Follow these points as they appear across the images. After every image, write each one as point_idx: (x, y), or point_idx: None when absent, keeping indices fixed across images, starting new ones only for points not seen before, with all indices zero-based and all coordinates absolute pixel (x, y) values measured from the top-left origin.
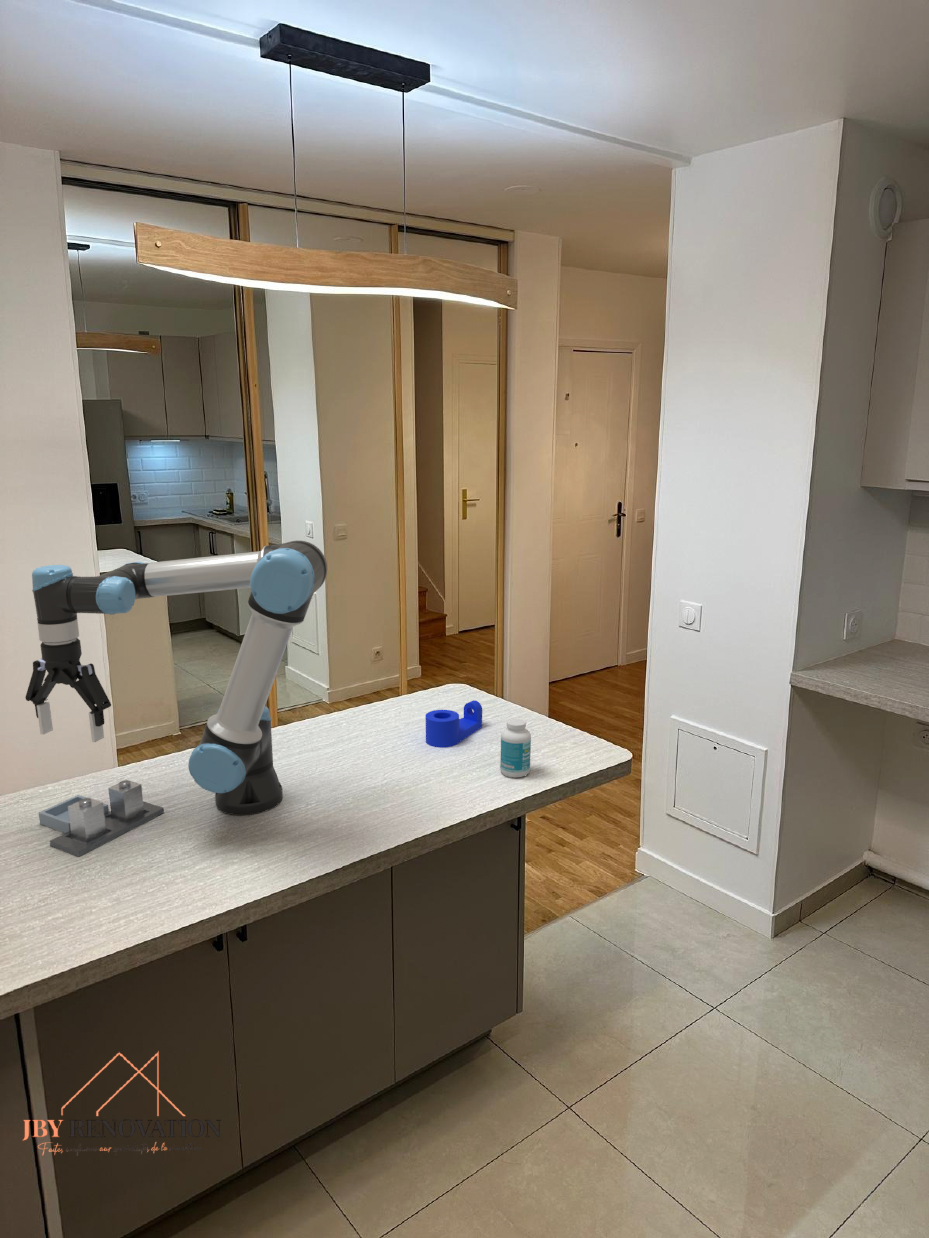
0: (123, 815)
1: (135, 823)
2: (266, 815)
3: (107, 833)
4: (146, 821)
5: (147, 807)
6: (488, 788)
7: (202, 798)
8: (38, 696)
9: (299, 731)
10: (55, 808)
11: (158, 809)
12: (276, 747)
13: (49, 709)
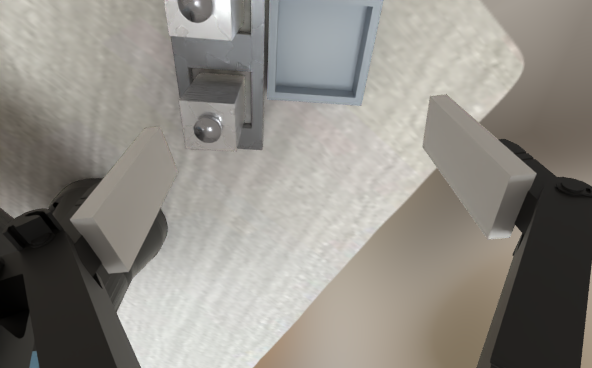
0: (201, 80)
1: (177, 79)
2: (44, 197)
3: None
4: None
5: None
6: None
7: (181, 199)
8: (561, 229)
9: (241, 351)
10: (365, 38)
11: None
12: (229, 322)
13: (466, 203)
